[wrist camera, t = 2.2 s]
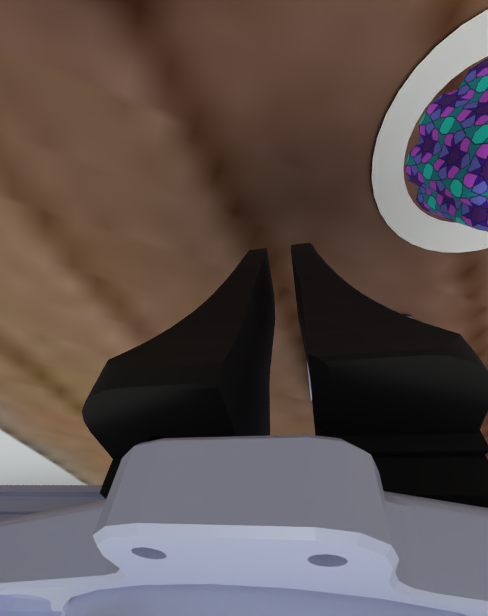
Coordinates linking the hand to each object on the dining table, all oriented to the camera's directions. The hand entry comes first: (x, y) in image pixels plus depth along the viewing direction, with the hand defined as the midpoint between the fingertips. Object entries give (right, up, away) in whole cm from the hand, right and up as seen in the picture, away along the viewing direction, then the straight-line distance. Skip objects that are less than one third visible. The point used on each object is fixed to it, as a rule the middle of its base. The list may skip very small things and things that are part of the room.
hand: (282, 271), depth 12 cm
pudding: (+12, +8, +6) cm, 15 cm away
